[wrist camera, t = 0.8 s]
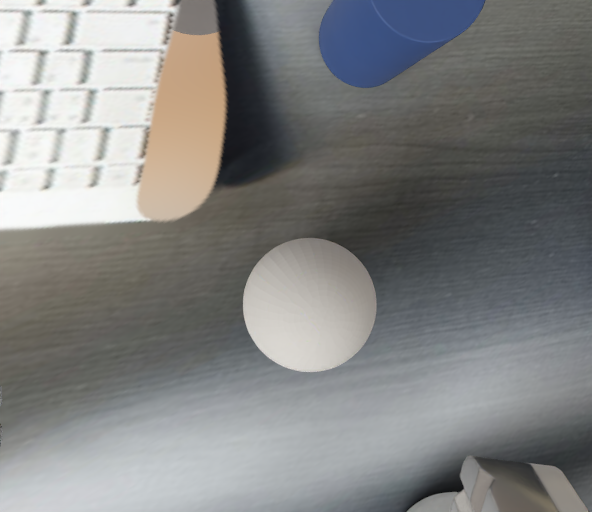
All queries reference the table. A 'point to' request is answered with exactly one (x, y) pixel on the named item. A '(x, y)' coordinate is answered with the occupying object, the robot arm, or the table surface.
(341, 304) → the light bulb
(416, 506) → the mug
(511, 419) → the table surface
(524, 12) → the table surface
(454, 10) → the blue pillar
